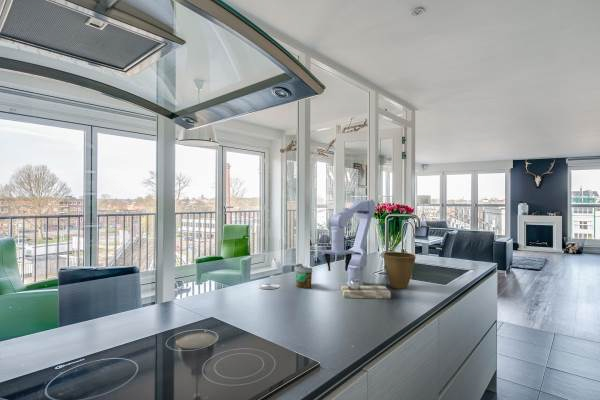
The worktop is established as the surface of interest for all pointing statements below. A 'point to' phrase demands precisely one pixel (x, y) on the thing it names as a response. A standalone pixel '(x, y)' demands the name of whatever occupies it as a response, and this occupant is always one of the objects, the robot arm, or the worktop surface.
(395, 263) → the plant pot
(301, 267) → the food container
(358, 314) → the worktop surface
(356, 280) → the silver metal cylinder
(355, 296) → the board
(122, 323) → the worktop surface
